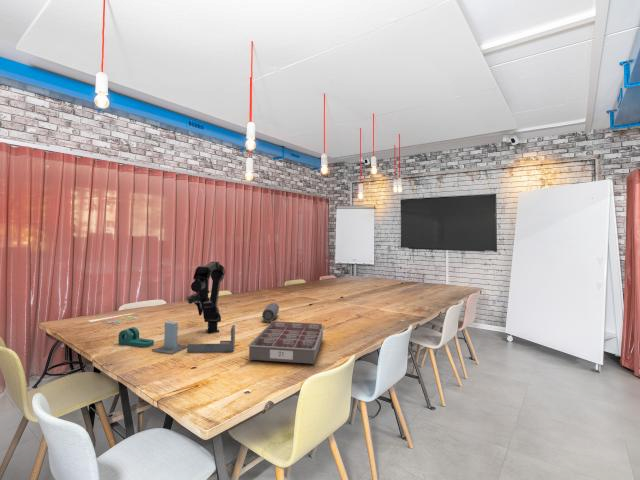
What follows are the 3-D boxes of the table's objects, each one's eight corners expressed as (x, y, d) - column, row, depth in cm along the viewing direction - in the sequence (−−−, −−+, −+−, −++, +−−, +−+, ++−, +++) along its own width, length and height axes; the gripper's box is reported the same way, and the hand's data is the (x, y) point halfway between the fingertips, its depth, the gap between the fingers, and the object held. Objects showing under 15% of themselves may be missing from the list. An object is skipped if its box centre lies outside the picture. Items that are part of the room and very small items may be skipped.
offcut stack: (220, 349, 171) (220, 341, 171) (230, 349, 172) (230, 341, 172) (219, 351, 169) (219, 343, 169) (229, 351, 169) (229, 343, 169)
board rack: (190, 348, 171) (190, 325, 171) (234, 348, 174) (235, 325, 173) (187, 352, 165) (187, 328, 165) (233, 352, 168) (233, 328, 168)
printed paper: (135, 313, 243) (135, 311, 243) (156, 321, 226) (156, 318, 226) (88, 321, 219) (88, 318, 219) (108, 330, 202) (108, 328, 202)
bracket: (118, 344, 175) (118, 329, 175) (128, 340, 181) (129, 326, 181) (147, 348, 170) (147, 333, 170) (156, 344, 177) (156, 329, 177)
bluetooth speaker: (275, 323, 224) (275, 308, 224) (261, 323, 224) (261, 308, 224) (279, 315, 247) (279, 302, 246) (267, 315, 247) (267, 301, 247)
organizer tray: (246, 362, 155) (247, 341, 155) (269, 337, 194) (269, 320, 194) (315, 367, 151) (315, 345, 151) (323, 340, 191) (324, 323, 191)
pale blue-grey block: (167, 346, 172) (168, 321, 172) (177, 348, 170) (177, 322, 170) (164, 347, 169) (164, 322, 169) (173, 349, 168) (174, 323, 167)
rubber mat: (170, 344, 177) (170, 343, 177) (188, 347, 173) (188, 345, 173) (152, 351, 166) (152, 350, 166) (171, 354, 162) (171, 353, 162)
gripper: (183, 287, 187) (183, 315, 188) (192, 292, 172) (191, 322, 172) (204, 286, 194) (203, 313, 194) (213, 291, 178) (213, 320, 179)
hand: (202, 317), depth 185 cm, fingers open, 9 cm apart
